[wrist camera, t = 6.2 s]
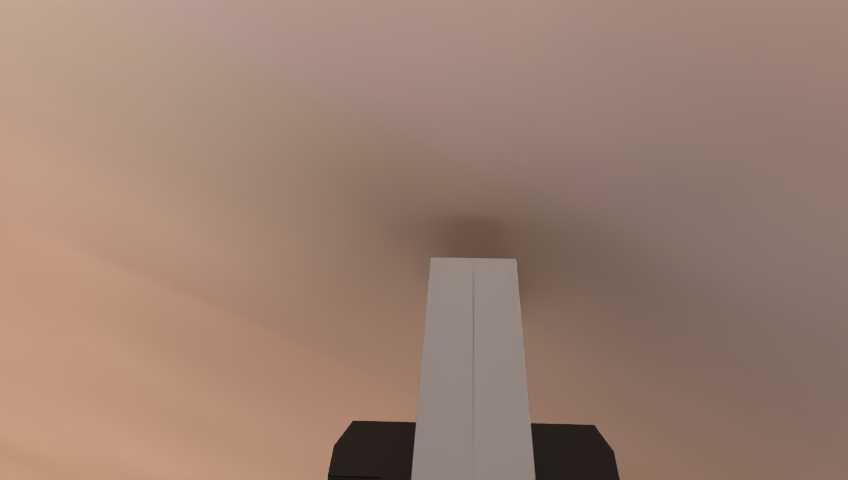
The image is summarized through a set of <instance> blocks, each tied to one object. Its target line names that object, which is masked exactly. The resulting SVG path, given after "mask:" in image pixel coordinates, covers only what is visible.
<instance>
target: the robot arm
mask: <svg viewBox="0 0 848 480" xmlns="http://www.w3.org/2000/svg"><path fill="white" fill-rule="evenodd" d="M328 480H620V479H619V475H618V470H617V465H616V460H615V455H614V451H613V450H612V449H611V447H610V446H609V445H608V443H607V442H606V441H605V439H604V438H603V436H602V435H601V434H600V432H599V431H598V430H597V428H596V427H595V426H594V425H573V424H536V423H531V422H530V411H529V399H528V388H527V376H526V365H525V353H524V342H523V330H522V319H521V307H520V296H519V284H518V273H517V261H516V259H500V258H436V257H431V259H430V270H429V282H428V293H427V305H426V316H425V328H424V339H423V350H422V362H421V373H420V385H419V396H418V407H417V419H416V422H381V421H353V422H352V423H351V424H350V426H349V427H348V428H347V430H346V431H345V432H344V433H343V435H342V436H341V437H340V439H339V440H338V441H337V443H336V444H335V445H334V448H333V453H332V458H331V463H330V468H329V473H328Z"/></svg>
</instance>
